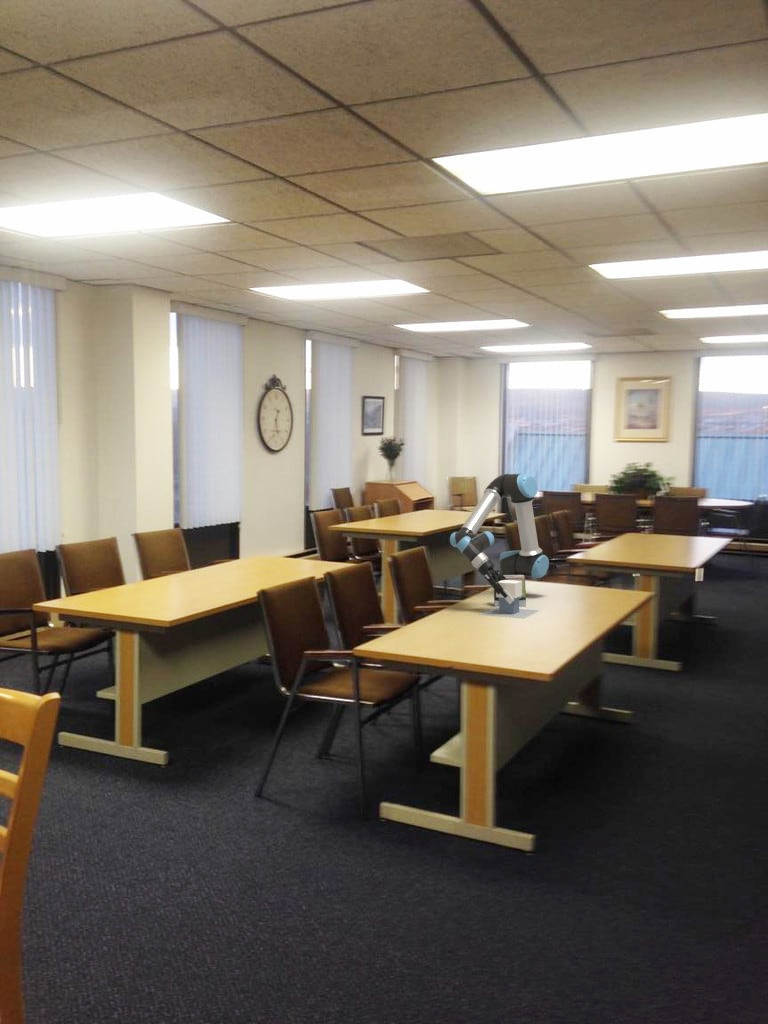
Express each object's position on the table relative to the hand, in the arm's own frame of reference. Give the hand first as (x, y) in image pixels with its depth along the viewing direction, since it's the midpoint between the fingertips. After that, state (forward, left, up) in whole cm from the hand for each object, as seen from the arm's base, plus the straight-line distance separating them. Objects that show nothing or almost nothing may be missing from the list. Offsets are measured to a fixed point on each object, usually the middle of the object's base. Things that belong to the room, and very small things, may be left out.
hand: (515, 600), depth 393 cm
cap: (0, -3, +2) cm, 4 cm away
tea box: (-19, -10, -7) cm, 23 cm away
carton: (0, -3, -6) cm, 7 cm away
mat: (0, -3, -6) cm, 7 cm away
